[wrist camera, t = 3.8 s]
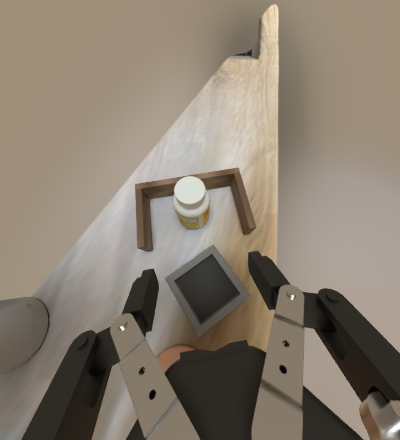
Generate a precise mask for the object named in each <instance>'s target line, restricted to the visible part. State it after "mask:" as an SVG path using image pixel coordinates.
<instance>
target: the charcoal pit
mask: <svg viewBox="0 0 400 440" xmlns="http://www.w3.org/2000/svg"><path fill="white" fill-rule="evenodd" d="M165 280H166V281H167V283H168V285H169V287H170V288H171V290H172V292H173V294H174V295H175V297H176V299H177V301H178V302H179V304H180V306H181V308H182V309H183V311H184V313H185V315H186V316H187V318H188V320H189V322H190V323H191V325H192V327H193V329H194V330H195V332H196V334H197V336H198V337H200V336H202V335H203V334H204V333H205V332H207V331H208V330H209V329H210V328H212V327H213V326H214V325H215V324H217V323H218V322H219V321H220V320H221V319H223V318H224V317H225V316H226V315H228V314H229V313H230V312H231V311H233V310H234V309H235V308H236V307H238V306H239V305H240V304H241V303H243V302H244V301H245V300H246V299H247V298H249V297H250V295H249V293H248V292H247V290H246V289H245V288H244V286H243V285H242V283H241V282H240V281H239V279H238V278H237V277H236V275H235V274H234V272H233V271H232V270H231V268H230V267H229V265H228V264H227V263H226V261H225V260H224V259H223V257H222V256H221V254H220V253H219V252H218V250H217V249H216V248H215V246H214V245H212V246H211V247H209V248H208V249H206V250H205V251H204V252H202V253H201V254H199V255H198V256H197V257H195V258H194V259H192V260H191V261H189V262H188V263H187V264H185V265H184V266H182V267H181V268H180V269H178V270H177V271H175V272H174V273H172V274H171V275H170V276H168V277H167V278H165Z"/></svg>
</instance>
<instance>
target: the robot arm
mask: <svg viewBox="0 0 400 440" xmlns="http://www.w3.org/2000/svg"><path fill="white" fill-rule="evenodd" d="M248 268H249V272H250V274H251V276H252V278H253V280H254V282H255V284H256V286H257V288H258V290H259V291H260V293H261V295H262V297H263V299H264V301H265V303H266V305H267V307H268V309H269V310H273V309H274V310H275V315H274V318H273V323H272V328H271V333H270V338H269V343H268V348H267V353H266V352H264V351H263V350H261V349H259V348H256V347H253V346H248V343H247V340H244V341H239V342H233V343H230V344H228V345H226V346H224V347H222V348H220V349H219V350H217V351H205V350H197V349H196V350H191V351H185V352H180V359H178V360H177V361H175V362H174V363H173V364H172V365H171V366H170V367H169V368H168V369H167V370H166V371H165V373H164V372H163V370H162V368H161V366H160V365H159V363H158V361H157V359H156V357H155V355H154V354H153V352H152V350H151V348H150V346H149V344H148V343H147V341H146V339H145V335H146V332H149V331H152V325H153V320H154V314H155V308H156V302H157V297H158V291H159V283H158V280H157V277H156V274H155V271H154V269H148V270H144V271H143V273H142V276H141V277H140V278H137V279H136V280H135V282H134V283H133V285H132V288H131V291H130V293H129V296H128V299H127V301H126V304H125V307H124V309H123V312H122V315H121V316H119V317H118V318H117V319H116V320H115V321H114V322H113V323H112V325H111V327H109V328H107V329H105V330H103V331H101V332H99V333H97V334H96V333H95V332H94V331H92V330H89V331H86V332H84V333H82V334H80V335H79V336H78V337H77V338H76V339H75V340H74V341H73V342H72V344H71V345H70V347H69V349H68V351H67V353H66V355H65V357H64V359H63V361H62V363H61V364H60V366H59V368H58V370H57V372H56V374H55V376H54V378H53V380H52V382H51V384H50V386H49V388H48V390H47V391H46V393H45V395H44V397H43V399H42V401H41V403H40V405H39V407H38V409H37V411H36V413H35V415H34V416H33V418H32V420H31V422H30V424H29V426H28V428H27V430H26V432H25V434H24V436H23V438H22V440H91V439H92V436H93V432H94V428H95V425H96V421H97V418H98V414H99V411H100V407H101V403H102V400H103V396H104V393H105V389H106V386H107V382H108V378H109V375H110V371H111V368H112V366H113V365H115V364H116V363H118V362H119V364H120V368H121V370H122V373H123V376H124V379H125V382H126V385H127V388H128V391H129V394H130V397H131V399H132V402H133V405H134V408H135V411H136V414H137V417H138V419H137V421H136V423H135V424H134V426H133V428H132V430H131V431H130V433H129V435H128V437H127V438H126V440H363V439H362V438H361V437H360V436H359V435H358V434H357V433H356V432H355V431H353V429H351V428H350V427H349V426H348V425H347V424H346V423H345V422H343V420H341V419H340V418H339V417H338V416H337V415H336V414H335V413H333V412H332V411H331V410H330V409H329V408H328V407H327V406H326V405H325V404H323V403H322V402H321V401H320V400H319V399H318V398H317V397H316V396H315V395H313V394H312V393H311V392H310V391H309V390H308V389H307V388H305V387H304V386H303V360H304V327H307V328H313V329H315V331H316V333H317V334H318V335H319V337H320V339H321V340H322V342H323V343H324V345H325V346H326V348H327V349H328V351H329V353H330V354H331V356H332V357H333V359H334V360H335V362H336V363H337V365H338V366H339V368H340V369H341V371H342V373H343V374H344V376H345V377H346V379H347V380H348V382H349V383H350V385H351V386H352V388H353V390H354V391H355V392H356V394H357V396H358V397H359V398H360V400H361V402H362V404H361V405H360V409H359V411H360V416H361V419H362V422H363V424H364V426H365V428H366V429H367V432H368V435H369V438H370V440H400V353H399V352H398V351H397V350H396V349H395V348H394V347H393V346H392V345H391V344H390V343H389V342H388V341H387V340H386V339H385V338H384V337H383V336H382V335H381V334H380V333H379V332H378V331H377V330H376V329H375V328H374V327H373V326H372V325H371V324H370V323H369V322H368V321H367V319H365V317H364V316H362V314H360V312H359V311H358V310H357V309H356V308H355V307H354V306H353V305H352V304H351V303H350V302H349V301H348V300H347V299H346V298H345V297H344V296H343V295H342V294H340V293H338V292H337V291H335V290H332V289H325V288H324V289H321V290H319V292H318V294H315V293H306V292H302V291H301V290H300V289H298V288H297V287H295V286H293V285H291V284H290V283H289V282H288V281H287V279H286V278H285V277H284V275H283V274H282V273H281V272H280V270H279V269H278V268H277V266H276V265H275V264H274V262H273V261H272V260H271V259H270V258H268V257H267V256H262V255H261V254H260V253H259V251H253V252H249V253H248ZM47 328H48V314H47V310H46V308H45V306H44V305H43V304H42V302H41V301H39V300H37V299H35V298H32V297H24V298H17V299H9V300H1V301H0V375H2V374H4V373H6V372H8V371H10V370H12V369H14V368H16V367H18V366H20V365H22V364H23V363H25V362H26V361H28V360H29V359H30V358H31V357H32V356H33V355H34V354H35V353H36V351H37V350H38V349H39V347H40V346H41V344H42V342H43V340H44V338H45V335H46V332H47Z"/></svg>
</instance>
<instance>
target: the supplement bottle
mask: <svg viewBox="0 0 400 440" xmlns="http://www.w3.org/2000/svg"><path fill="white" fill-rule="evenodd" d="M209 204H210V197H209V194H208V192H207V190H206V189H205V185H204V183H203V182H202V181H201V180H200V179H198V178H196V177H193V176H188V177H184V178H182V179H180V180H179V181H178V182H177V183H176V185H175V188H174V196H173V205H174V208H175V210H176V213H177V215H178V217H179V220H180V222H181V223H182V225H183V226H185V227H186V228H188V229H192V230H195V229H199V228H201V227H203V226H204V225H205V224H206V222H207V220H208V215H209Z"/></svg>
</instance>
